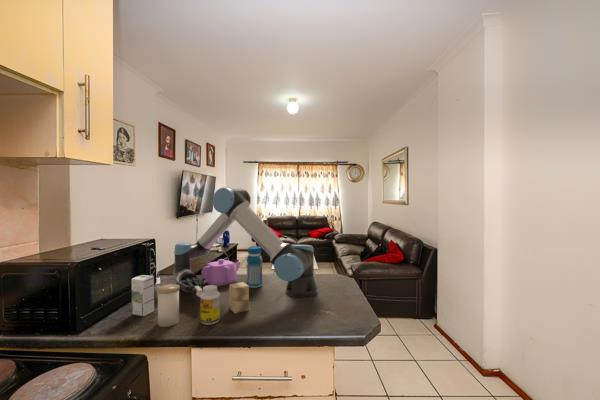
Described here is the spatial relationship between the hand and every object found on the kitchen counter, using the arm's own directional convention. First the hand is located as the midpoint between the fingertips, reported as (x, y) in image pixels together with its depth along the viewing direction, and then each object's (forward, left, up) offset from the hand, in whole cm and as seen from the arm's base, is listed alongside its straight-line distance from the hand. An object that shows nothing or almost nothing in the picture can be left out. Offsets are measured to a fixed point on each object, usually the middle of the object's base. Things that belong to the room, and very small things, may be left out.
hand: (200, 293), depth 112 cm
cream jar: (+5, +13, -7) cm, 15 cm away
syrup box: (+20, +8, -7) cm, 23 cm away
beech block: (-15, -4, -7) cm, 17 cm away
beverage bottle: (-10, -34, -7) cm, 36 cm away
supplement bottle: (-9, +8, -7) cm, 14 cm away
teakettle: (+10, -36, -7) cm, 38 cm away
